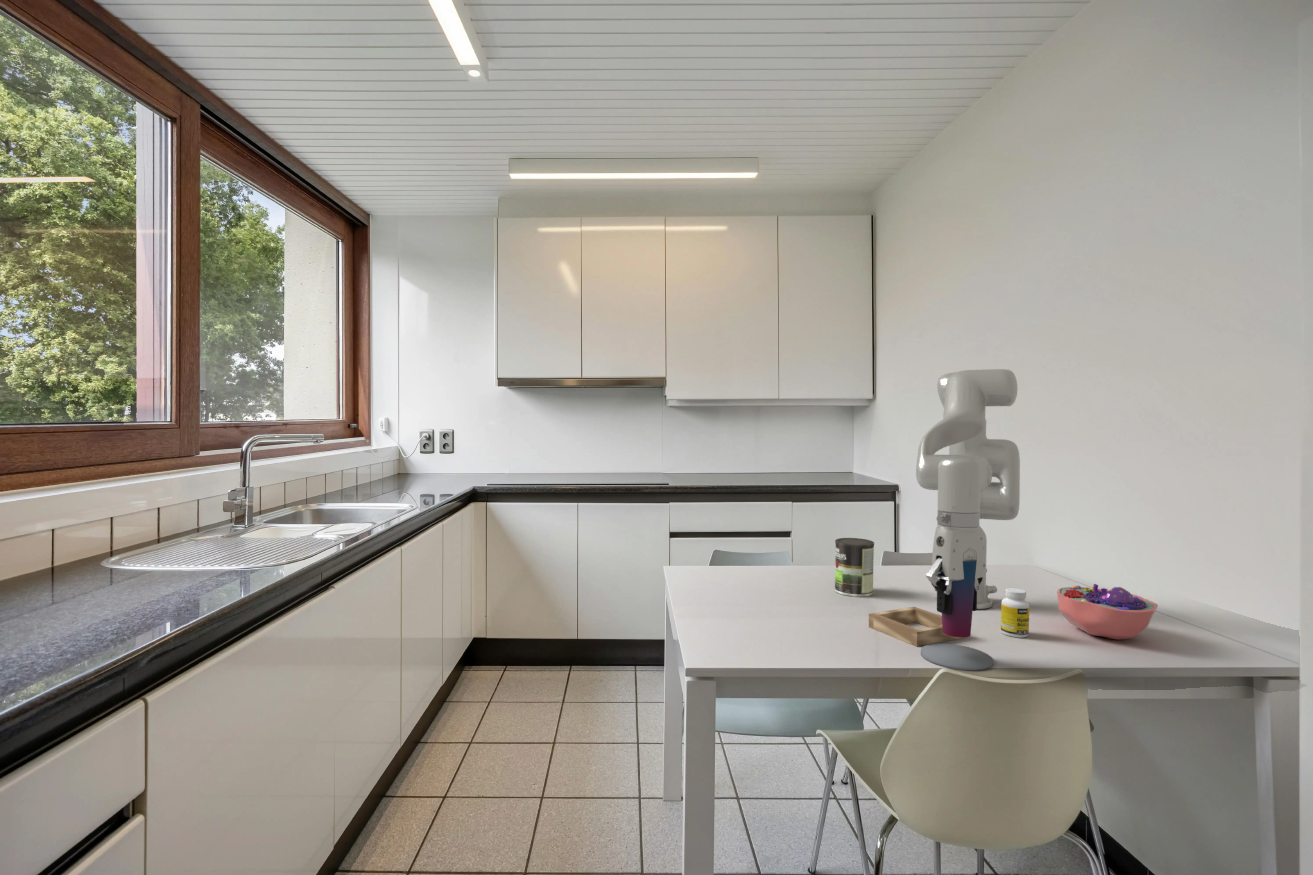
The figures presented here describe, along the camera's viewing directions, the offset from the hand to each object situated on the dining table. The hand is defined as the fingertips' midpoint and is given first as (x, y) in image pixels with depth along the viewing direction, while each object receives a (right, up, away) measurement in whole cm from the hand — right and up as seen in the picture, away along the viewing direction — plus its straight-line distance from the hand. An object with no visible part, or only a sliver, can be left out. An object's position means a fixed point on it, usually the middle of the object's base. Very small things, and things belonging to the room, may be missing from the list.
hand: (956, 610), depth 127 cm
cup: (0, -5, 0) cm, 5 cm away
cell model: (+40, -10, +15) cm, 43 cm away
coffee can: (-5, -9, +50) cm, 51 cm away
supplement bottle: (+20, -9, +15) cm, 27 cm away
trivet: (0, -10, 0) cm, 10 cm away
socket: (-2, -9, +16) cm, 19 cm away
